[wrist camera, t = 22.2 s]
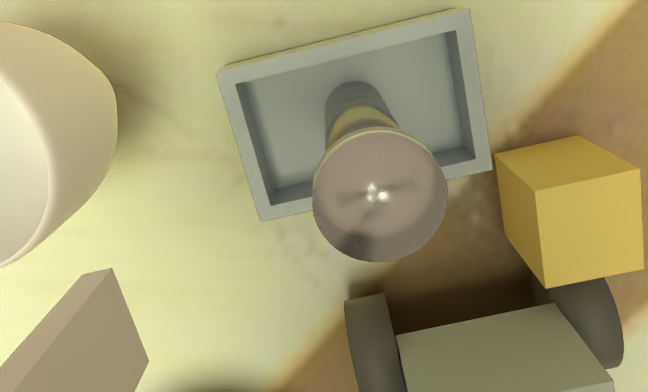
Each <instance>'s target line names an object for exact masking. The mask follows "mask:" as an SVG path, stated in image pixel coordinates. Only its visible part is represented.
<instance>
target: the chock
mask: <svg viewBox="0 0 648 392" xmlns="http://www.w3.org/2000/svg"><path fill="white" fill-rule="evenodd" d="M494 158H495V165H496V173H497V180H498V187H499V195H500V202H501V209H502V217H503V224H504V231H505V236H506V237H507V239H508V240H509V241H510V243H511V244H512V245H513V247H514V248H515V249H516V251H517V252H518V253H519V255H520V256H521V257H522V258H523V260H524V261H525V262H526V264H527V265H528V266H529V268H530V269H531V270H532V272H533V273H534V274H535V276H536V277H537V278H538V280H539V281H540V282H541V283H542V285H543V286H544V287H545V289H547V288H552V287H557V286H562V285H567V284H572V283H577V282H582V281H587V280H592V279H597V278H602V277H606V276H611V275H616V274H621V273H626V272H631V271H636V270H641V269H644V249H643V227H642V205H641V182H640V168H638V167H636V166H634V165H632V164H631V163H629V162H627V161H625V160H623V159H621V158H620V157H618V156H616V155H614V154H612V153H610V152H609V151H607V150H605V149H603V148H601V147H599V146H598V145H596V144H594V143H592V142H590V141H588V140H587V139H585V138H583V137H581V136H579V135H576V136H572V137H567V138H563V139H558V140H554V141H549V142H545V143H540V144H536V145H531V146H527V147H522V148H518V149H513V150H509V151H504V152H500V153H495V154H494Z"/></svg>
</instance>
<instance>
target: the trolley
mask: <svg viewBox="0 0 648 392" xmlns="http://www.w3.org/2000/svg"><path fill="white" fill-rule="evenodd" d="M530 280H531V290H532V296H533V301H534V306H535V307H531V308H526V309H521V310H516V311H511V312H506V313H502V314H497V315H492V316H487V317H482V318H477V319H472V320H468V321H463V322H458V323H453V324H448V325H443V326H439V327H434V328H429V329H424V330H419V331H414V332H409V333H405V334H400V335H396V337H395V335H394V331H393V326H392V322H391V318H390V313H389V309H388V305H387V301H386V296H385V293H380V294H375V295H370V296H365V297H361V298H356V299H351V300H347V301H344V311H345V320H346V327H347V334H348V339H349V345H350V350H351V355H352V360H353V365H354V370H355V374H356V379H357V383H358V387H359V391H360V392H407V389H408V392H615V390H614V381H613V379H612V378H611V377H610V375H609V374H608V373H607V371H606V370H605V369H610V368H615V367H618V366H619V365H620V364H621V362H622V359H623V352H624V342H623V333H622V327H621V323H620V318H619V315H618V311H617V308H616V305H615V302H614V299H613V296H612V294H611V291H610V289H609V287H608V285H607V283H606V281H605V279H604V277H602V278H597V279H592V280H587V281H582V282H577V283H572V284H567V285H562V286H557V287H552V288H547V289H545V287H544V286H543V285H542V283H541V282H540V281H539V280H538V278H537V277H536V276H535V274H534V273H533V272H532V270H531V272H530ZM400 360H401V361H402V366H403V370H404V375H405V379H406V384H407V389H406V384H405V380H404V375H403V371H402V366H401V362H400Z"/></svg>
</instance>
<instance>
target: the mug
mask: <svg viewBox="0 0 648 392" xmlns="http://www.w3.org/2000/svg"><path fill="white" fill-rule="evenodd" d="M117 132H118V119H117V102H116V96H115V92H114V90H113V87H112V85H111V83H110V82H109V80H108V79H107V77H106V76H105V75H104V74H103V72H102V71H101V70H99V69H98V68H97V67H96V66H95V65H94V64H92V63H91V62H90V61H89V60H88V59H86V58H85V57H84V56H83V55H81V54H80V53H79V52H78V51H76V50H75V49H73V48H72V47H70V46H69V45H67V44H66V43H64V42H62V41H60V40H59V39H57V38H55V37H53V36H50V35H48V34H46V33H44V32H41V31H38V30H36V29H33V28H29V27H26V26H22V25H18V24H13V23H7V22H0V268H2V267H5V266H7V265H9V264H11V263H13V262H15V261H17V260H18V259H20V258H21V257H23V256H24V255H26V254H27V253H29V252H30V251H31V250H33V249H34V248H35V247H37V246H38V245H39V244H40V243H41V242H43V241H44V240H45V239H46V238H47V237H48V236H49V235H50V234H52V233H53V232H54V231H55V230H56V229H57V228H58V227H60V226H61V225H62V224H63V223H64V222H65V221H66V220H67V219H69V218H70V217H71V216H72V215H73V214H74V213H75V212H76V211H77V210H79V209H80V208H81V207H82V206H83V205H84V204H85V203H86V201H87V200H88V199H89V198H90V197H91V196H92V195H93V193H94V192H95V191H96V189H97V188H98V187H99V185H100V184H101V182H102V180H103V179H104V177H105V175H106V173H107V171H108V169H109V167H110V164H111V161H112V158H113V155H114V151H115V147H116V142H117Z"/></svg>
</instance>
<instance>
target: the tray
mask: <svg viewBox="0 0 648 392" xmlns="http://www.w3.org/2000/svg"><path fill="white" fill-rule="evenodd" d="M215 73H216V76H217V80H218V83H219V86H220V90H221V93H222V96H223V100H224V103H225V106H226V110H227V113H228V116H229V120H230V123H231V126H232V130H233V133H234V136H235V139H236V143H237V146H238V149H239V153H240V156H241V159H242V163H243V166H244V169H245V173H246V176H247V179H248V183H249V186H250V189H251V193H252V196H253V199H254V203H255V206H256V209H257V212H258V216H259V219H260V222H264V221H268V220H273V219H277V218H282V217H286V216H290V215H295V214H299V213H304V212H308V211H313V208H312V191H313V179H314V175H315V171H316V169H317V166H318V164H319V162H320V160H321V158H322V157H323V155H324V154H325V104H326V101H327V98H328V97H329V95H330V93H331V92H332V91H333V90H334V89H335V88H336V87H337V86H339V85H341V84H343V83H345V82H349V81H362V82H365V83H368V84H370V85H371V86H373V87H374V88H375V89H376V90H377V91H378V92H379V93H380V95H381V97H382V98H383V100H384V102H385V103H386V105H387V107H388V109H389V110H390V112H391V114H392V115H393V117H394V119H395V120H396V122H397V124H398V125H399V127H400V129H401V131H404V132H406V133H408V134H410V135H412V136H414V137H415V138H416V139H418V140H419V141H420V142H422V143H423V144H424V145H425V146H426V147H427V149H428V150H429V151H430V153H431V154H432V155H433V157H434V158H435V160H436V161H437V163H438V164H439V166H440V168H441V169H442V172H443V174H444V177H445V180H450V179H454V178H458V177H463V176H467V175H472V174H476V173H481V172H485V171H489V170H493V168H492V161H491V154H490V147H489V140H488V133H487V126H486V119H485V112H484V106H483V99H482V92H481V85H480V78H479V71H478V64H477V57H476V50H475V43H474V37H473V30H472V23H471V16H470V9H460V8H452V9H448V10H444V11H440V12H436V13H432V14H428V15H424V16H420V17H416V18H412V19H408V20H404V21H400V22H396V23H392V24H388V25H384V26H380V27H376V28H372V29H368V30H364V31H360V32H356V33H352V34H348V35H344V36H340V37H336V38H332V39H328V40H323V41H319V42H315V43H311V44H307V45H303V46H299V47H295V48H291V49H287V50H283V51H279V52H275V53H271V54H267V55H263V56H259V57H255V58H251V59H247V60H243V61H239V62H235V63H231V64H227V65H225V66H224V67H222V68H221V69H220V70H218V71H217V72H215Z"/></svg>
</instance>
